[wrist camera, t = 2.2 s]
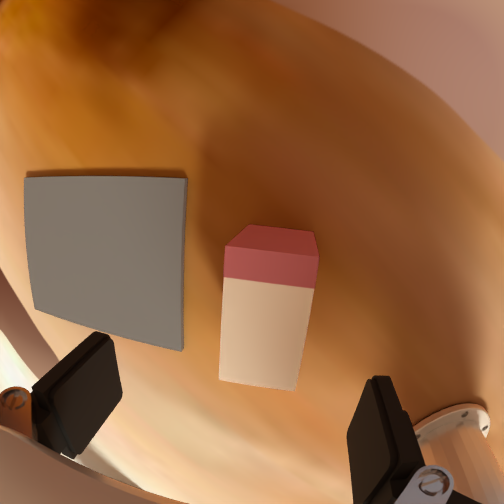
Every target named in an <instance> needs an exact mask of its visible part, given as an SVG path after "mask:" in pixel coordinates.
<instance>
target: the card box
mask: <svg viewBox="0 0 504 504" xmlns="http://www.w3.org/2000/svg"><path fill="white" fill-rule="evenodd" d="M318 264H319V253H318V248H317V244H316V240H315V236H314V232H312V231H304V230H295V229H287V228H278V227H269V226H260V225H251V224H249V225H248V226H246V227H245V228H244V229H243V230H242V231H241V232H240V233H239V234H238V235H237V236H235V237H234V238H233V239H232V240H231V241H230V242H229V243H228V244H227V245H226V246H225V258H224V274H223V277H224V283H223V301H222V319H221V340H220V362H219V380H223V381H228V382H234V383H240V384H246V385H252V386H259V387H265V388H273V389H280V390H288V391H295V388H296V384H297V379H298V374H299V370H300V365H301V360H302V355H303V350H304V344H305V339H306V334H307V328H308V323H309V317H310V311H311V305H312V299H313V293H314V289H315V284H316V278H317V271H318Z"/></svg>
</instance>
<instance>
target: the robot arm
mask: <svg viewBox="0 0 504 504" xmlns="http://www.w3.org/2000/svg"><path fill="white" fill-rule="evenodd" d="M32 390H33V391H32V392H31V393H29V391H28V390H26V389H25V388H22V387H10V388H7V389H5V390H4V391H2V392H1V393H0V504H188V503H184V502H180V501H177V500H173V499H169V498H166V497H163V496H159V495H156V494H153V493H150V492H147V491H144V490H141V489H138V488H135V487H133V486H130V485H127V484H125V483H122V482H119V481H117V480H114V479H112V478H109V477H107V476H105V475H102V474H100V473H98V472H95V471H93V470H91V469H89V468H87V467H85V466H82V465H80V464H78V463H76V462H74V461H72V460H70V459H68V458H66V457H64V456H62V455H60V454H61V452H62V454H64V455H65V456H67V457H69V458H71V459H74V458H75V457H76V455H77V454H81V453H82V452H83V451H84V449H85V448H86V447H87V445H88V444H89V442H90V441H91V440H92V438H93V437H94V436H95V434H96V433H97V431H98V430H99V429H100V427H101V426H102V425H103V423H104V422H105V420H106V419H107V418H108V416H109V415H110V414H111V412H112V411H113V410H114V408H115V407H116V405H117V404H118V403H119V401H120V400H121V398H122V393H123V392H122V387H121V382H120V376H119V371H118V366H117V360H116V354H115V348H114V342H113V340H112V339H111V338H110V336H109V335H108V334H104V333H101V332H97V331H95V332H93V333H92V334H91V335H90V336H88V337H87V338H86V339H85V340H84V341H83V342H81V343H80V344H79V345H78V346H77V347H76V348H75V349H73V350H72V351H71V352H70V353H69V354H68V355H67V356H65V357H64V358H63V359H62V360H61V361H60V362H59V363H58V364H56V365H55V366H54V367H53V368H52V369H51V370H50V371H49V372H48V373H46V374H45V375H44V376H43V377H42V378H41V379H40V380H39V381H38V382H37V383H35V384H34V385H33V386H32ZM490 423H491V422H490V417H489V415H488V413H487V411H486V410H485V409H484V408H483V407H482V406H480V405H478V404H473V403H467V404H460V405H455V406H451V407H449V408H446V409H443V410H441V411H439V412H437V413H434V414H432V415H431V416H429V417H427V418H425V419H424V420H422V421H421V422H419V423H418V424H416V425H415V426H414V427H413V426H412V423H411V421H410V418H409V415H408V413H407V412H406V411H403V410H402V407H401V405H400V402H399V399H398V396H397V394H396V391H395V388H394V386H393V383H392V381H391V378H390V376H373V377H372V379H368V380H367V382H366V384H365V387H364V390H363V393H362V395H361V398H360V401H359V403H358V406H357V408H356V411H355V413H354V416H353V418H352V421H351V423H350V426H349V428H348V431H347V445H348V454H349V463H350V472H351V482H352V493H353V504H504V475H503V473H502V471H501V468H500V466H499V464H498V462H497V460H496V458H495V456H494V454H493V452H492V450H491V448H490V446H489V444H488V442H487V440H486V436H487V434H488V431H489V429H490Z"/></svg>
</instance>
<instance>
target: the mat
mask: <svg viewBox="0 0 504 504" xmlns="http://www.w3.org/2000/svg"><path fill="white" fill-rule="evenodd" d="M187 183H188V178H167V177H138V176H54V177H28V178H24V219H25V237H26V249H27V259H28V268H29V276H30V283H31V290H32V296H33V302H34V307H35V309H36V310H39V311H42V312H44V313H47V314H50V315H53V316H56V317H59V318H61V319H64V320H67V321H70V322H73V323H76V324H80V325H83V326H86V327H89V328H92V329H96V330H99V331H102V332H106V333H109V334H113V335H116V336H120V337H123V338H127V339H131V340H135V341H138V342H142V343H146V344H150V345H154V346H159V347H163V348H167V349H171V350H176V351H180V352H182V350H183V349H184V330H183V286H184V243H185V218H186V199H187Z"/></svg>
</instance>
